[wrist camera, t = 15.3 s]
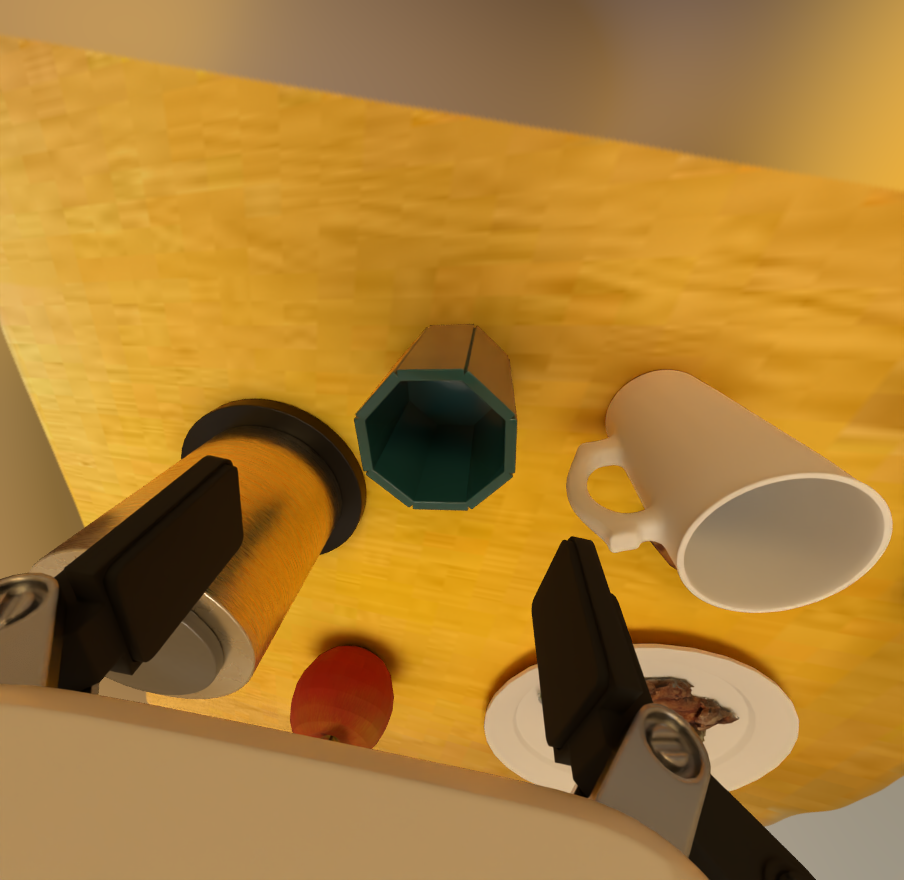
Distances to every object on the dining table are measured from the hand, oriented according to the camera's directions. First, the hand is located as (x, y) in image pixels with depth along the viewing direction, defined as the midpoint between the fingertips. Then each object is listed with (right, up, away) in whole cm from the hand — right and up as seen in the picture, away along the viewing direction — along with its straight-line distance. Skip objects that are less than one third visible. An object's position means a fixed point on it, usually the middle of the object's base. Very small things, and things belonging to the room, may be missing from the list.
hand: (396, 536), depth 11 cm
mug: (+13, +4, +14) cm, 19 cm away
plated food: (+20, -27, +30) cm, 45 cm away
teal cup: (+2, +7, +14) cm, 15 cm away
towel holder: (-12, -1, +19) cm, 22 cm away
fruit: (-8, -20, +29) cm, 37 cm away
